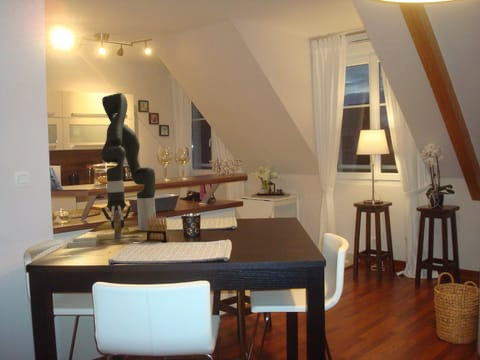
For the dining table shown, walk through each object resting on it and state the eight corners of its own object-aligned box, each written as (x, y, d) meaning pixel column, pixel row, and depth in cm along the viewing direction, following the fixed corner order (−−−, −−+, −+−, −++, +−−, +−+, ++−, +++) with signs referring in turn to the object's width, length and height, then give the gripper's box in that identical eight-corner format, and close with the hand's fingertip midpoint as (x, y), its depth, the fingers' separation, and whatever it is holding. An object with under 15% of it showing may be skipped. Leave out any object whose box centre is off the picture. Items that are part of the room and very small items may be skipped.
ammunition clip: (168, 241, 220) (167, 215, 219) (166, 242, 218) (165, 216, 218) (149, 240, 224) (147, 215, 223) (146, 241, 222) (145, 215, 222)
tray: (99, 243, 222) (98, 236, 222) (96, 247, 212) (95, 241, 212) (72, 245, 221) (72, 238, 220) (67, 249, 210) (67, 243, 210)
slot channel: (143, 240, 226) (142, 234, 226) (141, 244, 214) (141, 238, 214) (99, 243, 223) (99, 237, 223) (95, 248, 211) (95, 241, 211)
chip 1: (107, 242, 220) (106, 233, 219) (106, 244, 216) (105, 235, 215) (98, 243, 219) (97, 234, 219) (96, 244, 215) (96, 235, 215)
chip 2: (115, 241, 220) (115, 233, 220) (115, 243, 216) (114, 234, 216) (107, 242, 220) (106, 233, 219) (105, 244, 216) (105, 235, 215)
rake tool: (122, 239, 221) (120, 209, 220) (121, 241, 216) (119, 210, 215) (115, 240, 220) (114, 209, 220) (114, 241, 216) (113, 211, 215)
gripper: (131, 189, 222) (134, 226, 223) (100, 190, 219) (103, 228, 221) (130, 190, 214) (133, 228, 215) (98, 192, 212) (101, 230, 213)
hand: (117, 228), depth 218 cm, fingers closed on rake tool, 3 cm apart
